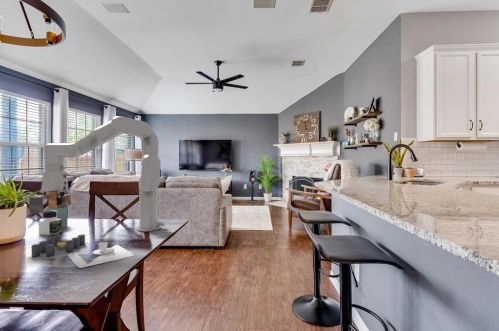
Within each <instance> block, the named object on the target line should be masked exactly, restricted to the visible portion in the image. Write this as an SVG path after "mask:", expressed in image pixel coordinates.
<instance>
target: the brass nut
mask: <svg viewBox="0 0 499 331" xmlns="http://www.w3.org/2000/svg"><path fill="white" fill-rule="evenodd" d="M66 241H69V239H61V241H58V242H57V250H65V249H66Z"/></svg>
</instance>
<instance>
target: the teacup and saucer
mask: <svg viewBox="0 0 499 331" xmlns="http://www.w3.org/2000/svg"><path fill="white" fill-rule="evenodd" d="M115 250H116V249H115V248H114V247H112V246H111V247H108V241H101V242H99V243H98V249H95V250H93V251H92V254H94V255H98V256H100V255H107V254H111V253H113V252H114V251H115Z"/></svg>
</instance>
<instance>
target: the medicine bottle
mask: <svg viewBox="0 0 499 331" xmlns="http://www.w3.org/2000/svg"><path fill="white" fill-rule="evenodd" d="M56 218H57V211H55V210H51V211H47V210H46V211H43V212H42V220H39V221H38V235H43V236H45V235H46V236H53V235H56V234H58V233H62V228H61V219H56Z"/></svg>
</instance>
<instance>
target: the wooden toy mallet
mask: <svg viewBox="0 0 499 331" xmlns="http://www.w3.org/2000/svg"><path fill="white" fill-rule="evenodd" d="M47 198H49V206H48V207H49V208H58V207H61V206H71V204H72V195H71V193H69V194H68V193H66V194H65V195H64V196H63V197H62V199H63V203H62V205H59V206H57V198H58V195H57V191H51V192H48V194H47V195H44V194H43V195H39V196H30V197H28V200H29V201H28V206H29V209H28V210H29V214H40V213H41V214H43V212H44V200H47Z"/></svg>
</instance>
